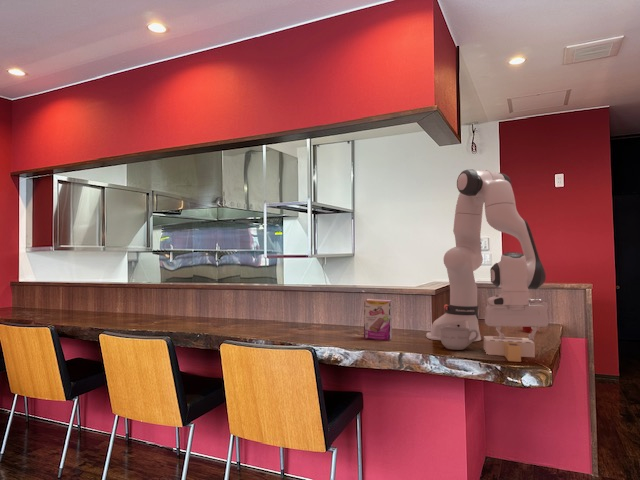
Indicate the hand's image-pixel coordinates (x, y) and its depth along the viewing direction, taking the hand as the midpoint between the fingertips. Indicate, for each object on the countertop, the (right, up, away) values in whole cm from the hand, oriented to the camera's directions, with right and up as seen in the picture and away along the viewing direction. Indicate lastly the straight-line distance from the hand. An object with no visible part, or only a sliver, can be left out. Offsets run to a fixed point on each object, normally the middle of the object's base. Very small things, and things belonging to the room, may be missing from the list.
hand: (516, 339), depth 155 cm
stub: (-1, -7, +1) cm, 7 cm away
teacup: (-15, -7, +16) cm, 23 cm away
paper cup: (+29, -8, +53) cm, 61 cm away
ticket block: (+1, -7, +9) cm, 12 cm away
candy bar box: (-44, -7, +33) cm, 55 cm away
